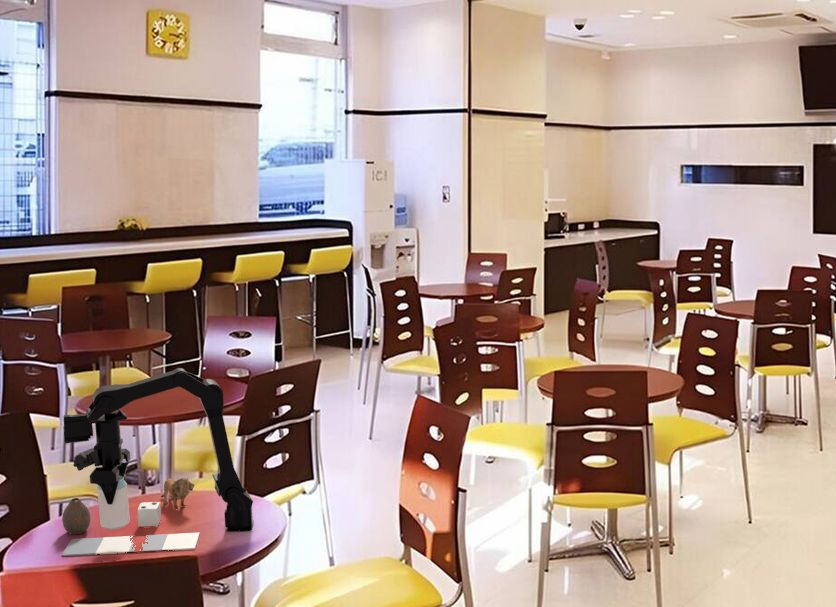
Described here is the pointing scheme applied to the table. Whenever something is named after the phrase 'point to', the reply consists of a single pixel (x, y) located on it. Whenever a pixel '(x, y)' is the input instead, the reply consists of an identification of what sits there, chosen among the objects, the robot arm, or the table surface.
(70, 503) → the vase
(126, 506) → the can
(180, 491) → the lion figurine
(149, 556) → the table surface
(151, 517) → the die
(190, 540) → the board
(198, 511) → the table surface
